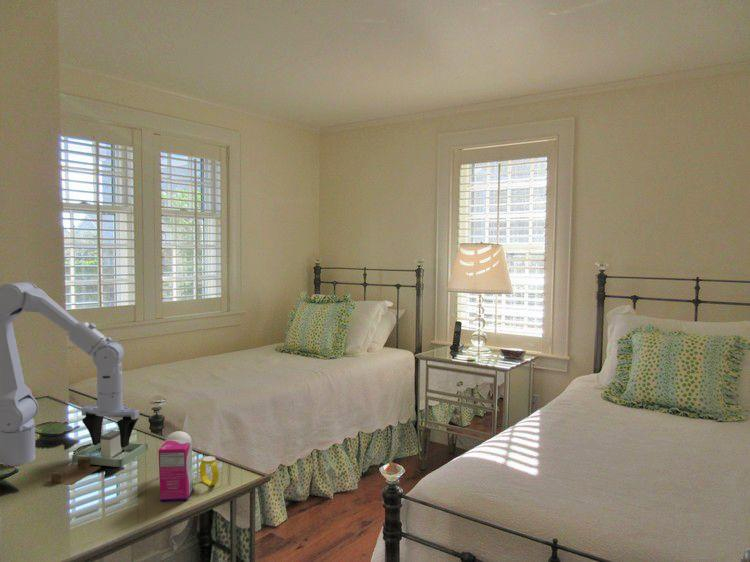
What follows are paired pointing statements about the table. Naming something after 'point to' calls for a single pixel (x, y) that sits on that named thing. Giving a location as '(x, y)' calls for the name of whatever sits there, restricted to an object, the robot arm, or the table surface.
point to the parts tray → (107, 461)
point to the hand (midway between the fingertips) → (110, 445)
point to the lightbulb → (178, 436)
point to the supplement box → (175, 470)
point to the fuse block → (72, 473)
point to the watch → (211, 462)
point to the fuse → (111, 444)
